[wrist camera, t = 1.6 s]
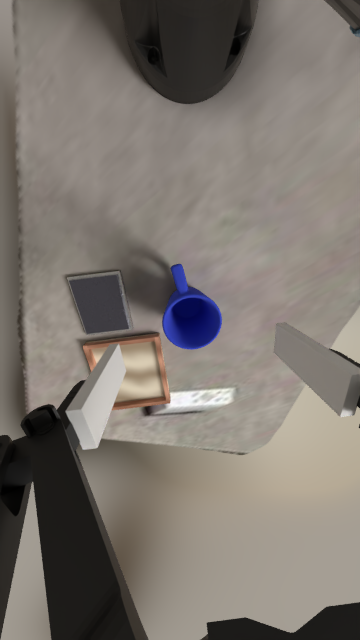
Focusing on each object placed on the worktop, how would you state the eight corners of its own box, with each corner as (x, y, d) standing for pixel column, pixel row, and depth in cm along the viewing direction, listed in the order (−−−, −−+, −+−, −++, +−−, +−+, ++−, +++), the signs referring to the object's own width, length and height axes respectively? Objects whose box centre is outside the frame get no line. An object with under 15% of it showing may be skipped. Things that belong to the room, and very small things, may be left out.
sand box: (86, 341, 36) (82, 346, 34) (159, 332, 36) (158, 336, 34) (108, 404, 42) (105, 411, 40) (170, 396, 42) (170, 403, 40)
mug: (197, 254, 31) (208, 255, 21) (212, 317, 35) (227, 341, 26) (152, 267, 31) (143, 275, 22) (172, 328, 36) (172, 356, 26)
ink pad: (69, 276, 31) (64, 277, 30) (120, 270, 31) (118, 271, 30) (88, 333, 35) (84, 336, 34) (133, 328, 35) (132, 331, 34)
